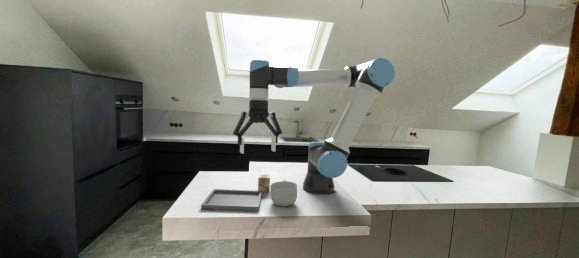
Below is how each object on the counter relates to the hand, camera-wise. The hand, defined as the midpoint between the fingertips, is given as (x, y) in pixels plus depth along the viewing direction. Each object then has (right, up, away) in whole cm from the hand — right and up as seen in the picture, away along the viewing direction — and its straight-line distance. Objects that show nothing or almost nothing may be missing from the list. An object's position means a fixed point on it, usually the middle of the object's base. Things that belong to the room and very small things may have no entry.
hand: (258, 152), depth 107 cm
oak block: (+1, -19, +13) cm, 23 cm away
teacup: (+10, -21, 0) cm, 23 cm away
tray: (-9, -20, -2) cm, 22 cm away
